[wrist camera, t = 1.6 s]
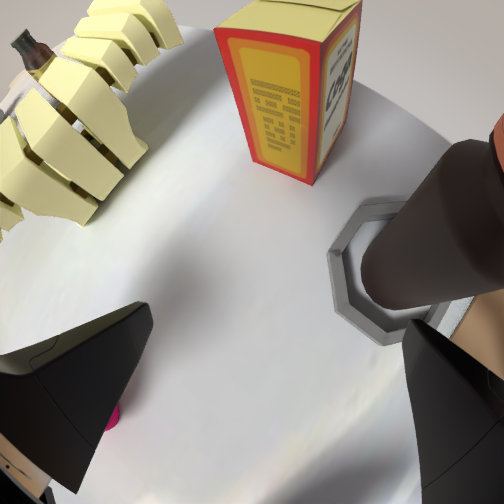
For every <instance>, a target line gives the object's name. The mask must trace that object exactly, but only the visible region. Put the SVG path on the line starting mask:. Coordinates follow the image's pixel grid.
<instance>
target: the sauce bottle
mask: <svg viewBox="0 0 504 504" xmlns="http://www.w3.org/2000/svg"><path fill="white" fill-rule="evenodd" d="M11 45H12V47H13V48H15V49H16V50H17V51H18V52H19V53H20V55H21V56H22V59H23V62H24V65H25V68H26V71H27V72H28V73H29V74H30V75H31V76H32V77H33V78H34V79H35V80H36V81H37V82H38V81H39V79H40V78H41V76H42V75H43V74H44V72H45V71H46V70H47V69H48V67H49V66H50V64H51V63H52V62H53V60H54V59H55V57H57V56H56V54H55V53H54V52H53V51H51V49H50V48H49V47H48V46H47V45H46V44H43V43H38V42H36V41H35V40H34V39H33V38H32V36H31V35H30V33H29V31H28V30H27V29H25V30H23V31H22V32H21V33H20V34H19V35H18V36H17V37H16V38H15V39H14V40H13V41H12V42H11ZM38 83H39V82H38ZM39 84H40V83H39ZM40 85H41V84H40ZM41 86H42V85H41ZM42 87H43V86H42ZM43 88H44V87H43ZM44 89H45V88H44ZM45 90H46V89H45ZM46 91H47V92H48V93H49V94H50V95H51V96H52V97H54V96H53V95H52V94H51V93H50V92H49V91H48V90H46ZM54 98H55V97H54ZM55 99H56V98H55Z"/></svg>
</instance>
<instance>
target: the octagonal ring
mask: <svg viewBox="0 0 504 504" xmlns="http://www.w3.org/2000/svg"><path fill="white" fill-rule="evenodd" d="M406 202H407V201H403V202H393V203H383V204H374V205H365V206H359V208H358V209H357V211H356V212H355V214H354V215H353V216H352V218H351V219H350V221H349V222H348V224H347V225H346V227H345V228H344V229H343V231H342V232H341V234H340V235H339V236H338V238H337V239H336V241H335V242H334V243H333V245H332V246H331V248H330V249H329V250H328V252H327V261H328V267H329V273H330V280H331V286H332V293H333V301H334V308H335V312H336V313H337V314H338V315H340V316H341V317H342V318H344V319H345V320H346V321H348V322H349V323H350V324H352V325H353V326H354V327H356V328H357V329H358V330H359V331H361V332H362V333H363V334H365V335H366V336H367V337H369V338H370V339H371V340H373V341H374V342H375V343H377V344H378V345H381V346H387V345H391V344H395V343H399V342H402V339H403V336H404V333H405V330H406V327H405V328H400V329H396V330H392V331H387V332H385V331H384V330H382V329H381V328H380V327H378V326H377V325H376V324H375V323H373V322H372V321H371V320H369V319H368V318H367V317H365V316H364V315H363V314H362V313H360V312H359V311H358V310H356V309H355V308H354V307H352V306H351V305H350V304H349V300H348V293H347V286H346V280H345V273H344V267H343V261H342V256H341V253H342V252H343V251H344V249H345V248H346V246H347V245H348V243H349V242H350V240H351V239H352V238H353V236H354V235H355V233H356V232H357V230H358V229H359V227H360V226H361V224H362V223H363V222H369V221H377V220H385V219H393V218H394V217H395V215H396V214H397V213H398V212H399V211H400V209H401V208H402V207H403V206H404V205H405V203H406ZM450 303H451V301H448V302H443V303H438V304H433V305H432V307H431V308H430V310H429V312H428V314H427V315H426V317H425V319H424V322H425V323H427V324H428V325H430V326H431V327H433V328H434V329H435V330H436V329H437V327H438V326H439V324H440V322H441V320H442V318H443V316H444V315H445V313H446V311H447V309H448V307H449V305H450Z"/></svg>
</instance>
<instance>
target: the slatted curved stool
mask: <svg viewBox="0 0 504 504" xmlns="http://www.w3.org/2000/svg"><path fill="white" fill-rule="evenodd" d="M87 12H88V14H89V16H90V17H86V18H82V19H81V21H80V22H79V24H78V25H77V27H76V28H75V30H74V32H75V34H76V35H77V37H79V38H69V39H68V40H67V41H66V43H65V44H64V46H63V47H62V49H61V52H62V53H63V54H64V55H65V56H67V57H70V58H73V59H75V60H77V61H79V62H81V63H83V64H85V65H86V66H85V65H82V64H79V63H75V62H72V61H69V60H66V59H62V58H59V57H55V59H54V60H53V62H52V63H51V64H50V66H49V67H48V69H47V70H46V71H45V72H44V74H43V75H42V76H41V78H40V79H39V81H38V82H39V83H40V84H41V85H42V86H43V87H44V88H45V89H46V90H48V91H49V92H50V93H51V94H52V95H53V96H54V97H55V98H56V99H57V100H59V101H60V102H61V104H60V105H59V106H58V107H57V108H56V109H54V108H53V107H52V106H51V105H50V104H49V103H48V102H47V101H46V100H45V99H44V98H43V97H42V96H41V95H40V94H39V93H38V91H37V90H36V89H35V88H34V87H33V88H32V89H31V91H30V92H29V93H28V94H27V95H26V97H25V98H24V99H23V100H22V101H21V103H20V104H19V105H18V106H17V107H16V108H15V110H14V111H15V113H16V116H17V118H18V121H19V123H20V125H21V128H22V130H23V132H24V134H25V136H26V139H27V141H28V144H27V143H26V141H25V140H24V138H23V137H22V135H21V133H20V131H19V129H18V127H17V125H16V123H15V121H14V119H13V118H12V117H10V116H8V117H7V118H6V119H5V120H4V121H3V123H2V124H1V125H0V244H1V242H2V240H3V237H2V233H1V229H4V230H6V231H8V232H9V231H10V230H11V229H12V227H14V226H15V225H16V224H17V223H19V222H20V221H22V220H24V216H23V214H22V211H21V208H20V206H21V207H23V208H25V209H27V210H28V211H30V212H32V213H34V214H36V215H38V216H54V217H60V218H66V219H69V220H72V221H74V222H77V224H78V225H79V226H80V227H81V228H83V227H84V225H85V224H86V223H87V221H88V220H89V219H90V217H91V216H92V215H93V213H94V212H95V211H96V209H97V208H98V204H97V202H96V201H95V200H94V198H93V197H92V196H91V195H93V196H94V197H96V198H97V199H99V200H101V201H103V200H104V199H105V198H106V197H107V195H108V194H109V193H110V192H111V191H112V189H113V188H114V187H115V186H116V185H117V183H118V182H119V181H120V180H121V179H122V178H123V176H124V175H123V174H122V173H121V172H120V171H119V170H118V169H117V168H116V167H115V166H114V164H115V163H116V162H117V161H118V160H119V161H120V162H121V163H123V164H124V165H125V166H126V167H127V168H128V169H130V168H131V167H132V166H133V165H134V164H135V163H136V162H137V161H138V160H139V159H140V158H141V156H142V155H143V154H144V153H145V152H146V151H147V150H148V149H149V148H148V145H147V144H146V143H145V142H143V141H142V140H141V139H139V138H138V137H136V136H135V135H133V132H132V129H131V127H130V123H129V120H128V115H127V110H126V108H125V106H124V105H123V104H122V102H121V101H120V100H119V98H118V97H117V96H116V94H115V93H114V92H113V90H112V89H111V88H110V86H113V87H115V88H117V89H119V90H121V91H123V92H125V93H128V91H129V88H130V86H131V84H132V82H133V80H134V79H135V77H136V76H137V75H138V72H137V71H136V69H135V68H134V66H135V65H136V64H140V65H143V66H146V65H147V64H148V63H149V62H150V61H152V60H153V59H154V58H156V57H157V56H159V55H160V53H159V51H158V49H157V48H162V49H167V50H169V49H171V48H173V47H175V46H178V45H180V44H183V43H184V41H183V39H182V36H181V34H180V32H179V29H178V27H177V25H176V23H175V20H174V18H173V16H172V13H171V12H170V10H169V8H168V6H167V5H166V4H165V2H164V1H163V0H94V1H93V2H92V4H91V6H90V7H89V8H88V10H87ZM77 119H78V120H79V121H80V122H81V123H82V124H83V126H82V127H83V128H84V130H83V131H82V132H81V133H79V132H78V131H76V130H75V129H74V128H73V127H72V125H73V123H74V122H75V121H76V120H77ZM92 137H94V138H95V139H96V140H97V141H98V142H99V143H100V144H101V146H100V147H99V148H98V149H96V148H95V147H94V146H93V145H92V144H91V143H89V140H90V139H91V138H92ZM43 160H44V161H46V162H47V163H48V164H50V166H49V165H47V164H46V163H45V162H44V161H43ZM90 194H91V195H90Z"/></svg>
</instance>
